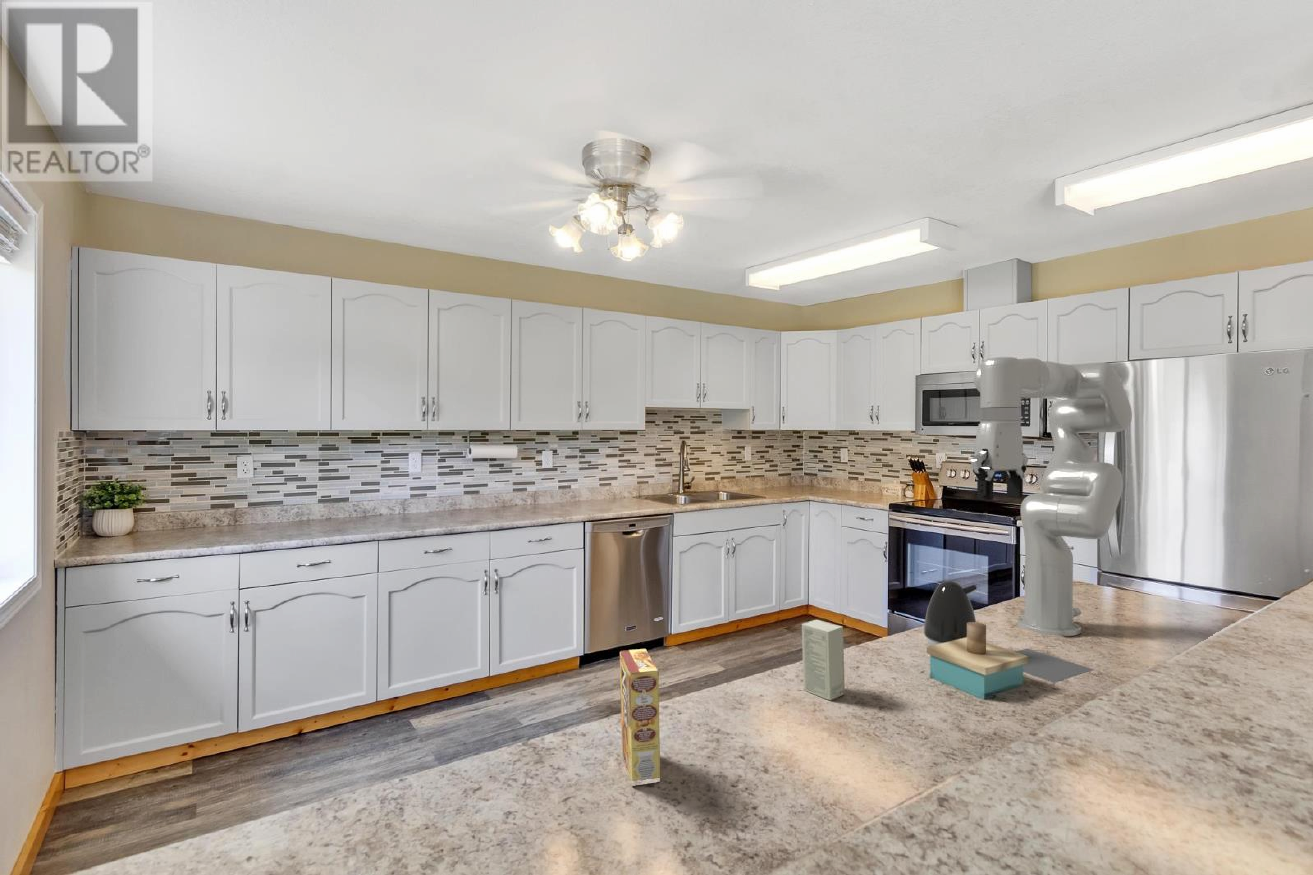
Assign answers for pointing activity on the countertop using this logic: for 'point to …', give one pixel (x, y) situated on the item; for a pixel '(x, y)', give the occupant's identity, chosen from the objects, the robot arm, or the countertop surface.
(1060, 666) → the mat
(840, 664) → the skincare box
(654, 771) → the candy box
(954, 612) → the pump dispenser
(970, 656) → the lid
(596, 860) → the countertop surface
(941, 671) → the dish
